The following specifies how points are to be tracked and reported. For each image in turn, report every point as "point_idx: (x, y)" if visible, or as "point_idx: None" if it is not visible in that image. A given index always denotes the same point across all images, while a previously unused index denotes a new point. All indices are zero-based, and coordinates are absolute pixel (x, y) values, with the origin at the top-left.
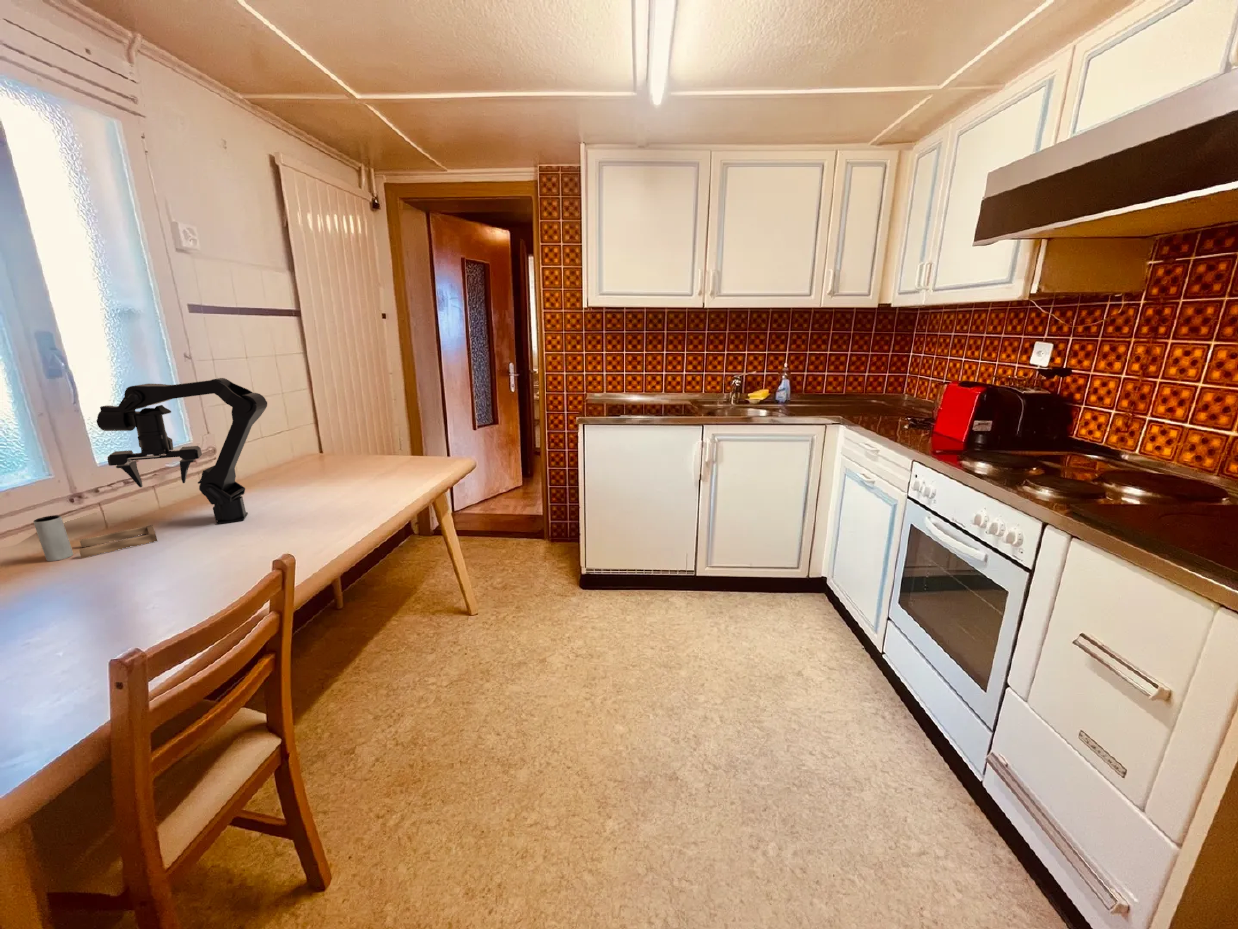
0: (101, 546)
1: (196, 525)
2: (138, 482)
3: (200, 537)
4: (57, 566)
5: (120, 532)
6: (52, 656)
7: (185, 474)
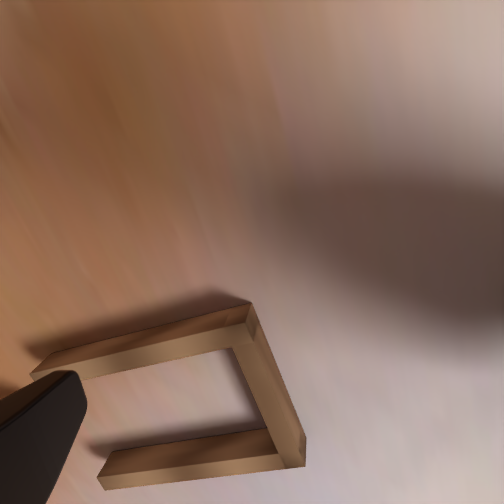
0: (153, 482)
1: (434, 311)
2: (36, 494)
3: (465, 481)
4: (87, 487)
5: (144, 364)
6: None
7: None
